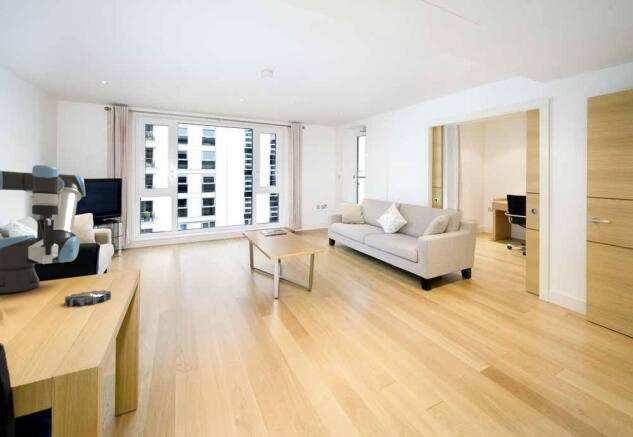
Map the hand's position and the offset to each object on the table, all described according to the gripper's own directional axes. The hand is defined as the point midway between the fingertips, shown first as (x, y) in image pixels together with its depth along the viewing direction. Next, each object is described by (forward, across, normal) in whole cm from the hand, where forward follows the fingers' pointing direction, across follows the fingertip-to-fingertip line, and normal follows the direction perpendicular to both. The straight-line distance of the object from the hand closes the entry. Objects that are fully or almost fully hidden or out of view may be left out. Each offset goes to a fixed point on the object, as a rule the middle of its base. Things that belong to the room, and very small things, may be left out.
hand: (45, 262), depth 113 cm
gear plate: (+16, +12, +11) cm, 23 cm away
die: (+1, 0, 0) cm, 1 cm away
